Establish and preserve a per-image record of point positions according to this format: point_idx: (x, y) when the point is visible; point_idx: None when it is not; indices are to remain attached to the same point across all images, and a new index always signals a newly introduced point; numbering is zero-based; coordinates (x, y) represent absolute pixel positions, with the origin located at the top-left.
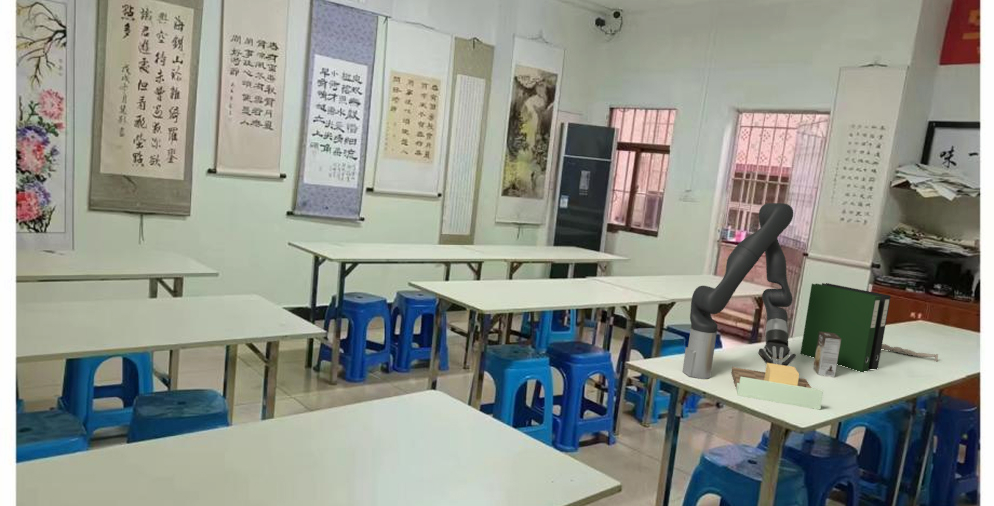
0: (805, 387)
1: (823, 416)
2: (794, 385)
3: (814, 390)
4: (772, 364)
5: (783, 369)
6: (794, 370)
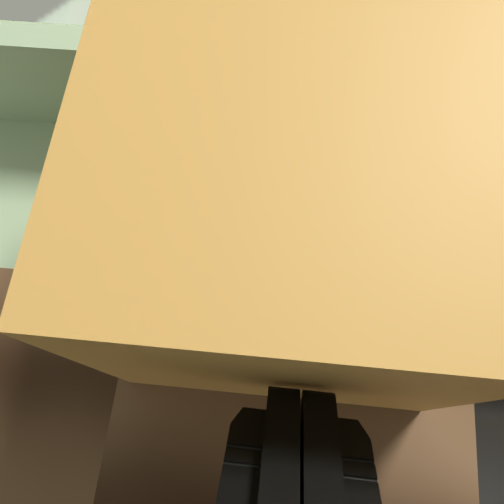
0: (77, 42)
1: (61, 22)
2: None
3: (5, 27)
4: (463, 296)
5: (301, 53)
6: (107, 83)
